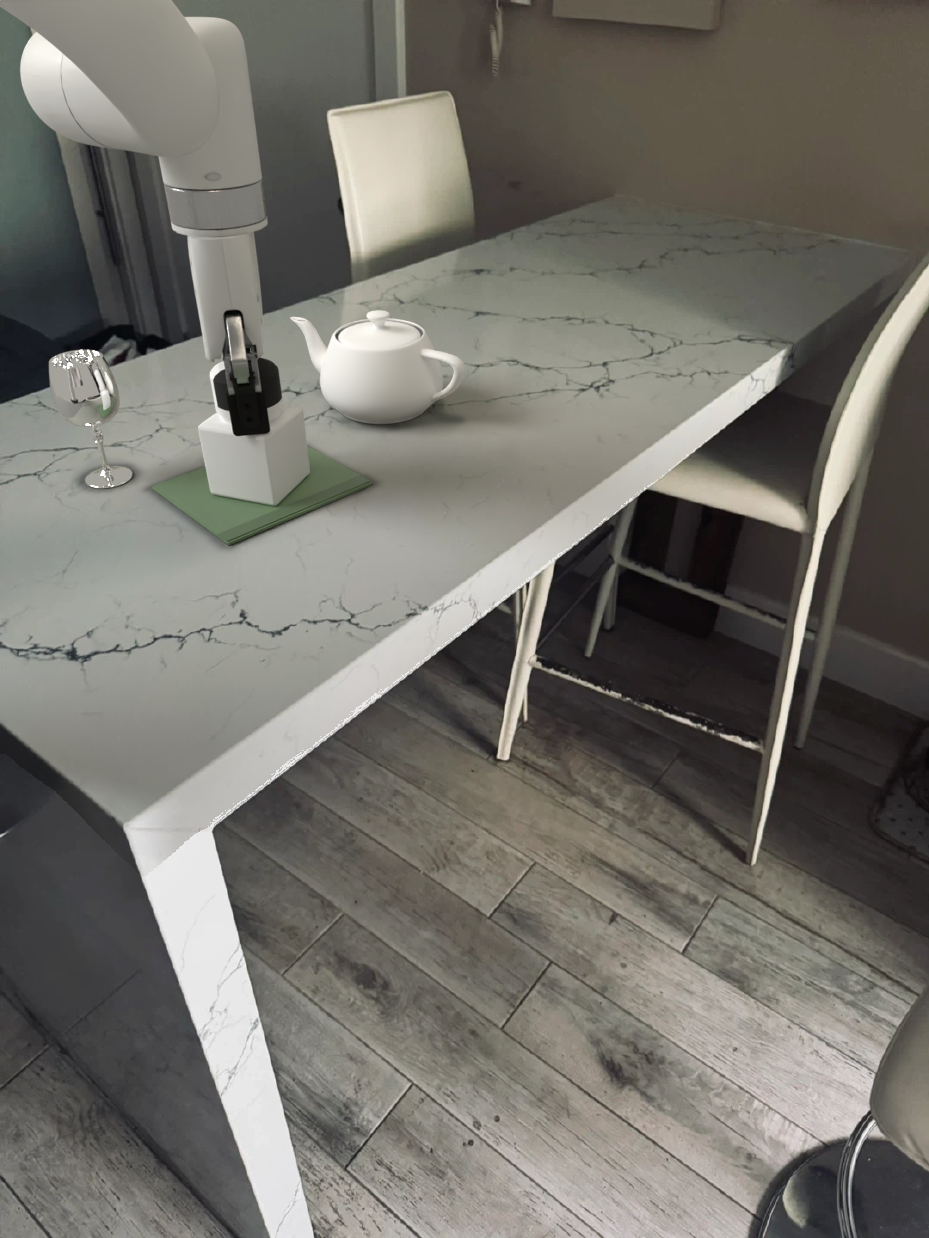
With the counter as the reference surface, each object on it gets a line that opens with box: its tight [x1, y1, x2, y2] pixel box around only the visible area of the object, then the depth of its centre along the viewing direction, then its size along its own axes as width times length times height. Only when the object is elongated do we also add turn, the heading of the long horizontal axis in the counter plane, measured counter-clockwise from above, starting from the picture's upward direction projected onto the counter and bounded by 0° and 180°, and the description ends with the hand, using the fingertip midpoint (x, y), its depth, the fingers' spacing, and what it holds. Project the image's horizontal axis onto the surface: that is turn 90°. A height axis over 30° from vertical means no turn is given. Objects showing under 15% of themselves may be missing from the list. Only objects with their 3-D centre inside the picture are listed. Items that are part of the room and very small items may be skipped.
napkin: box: [151, 445, 373, 546], centre depth 84 cm, size 16×14×1 cm
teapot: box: [289, 309, 466, 425], centre depth 96 cm, size 22×14×11 cm, turn 63°
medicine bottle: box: [197, 357, 310, 506], centre depth 81 cm, size 7×7×12 cm
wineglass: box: [48, 349, 134, 489], centre depth 82 cm, size 6×6×12 cm
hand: (250, 413), depth 80 cm, fingers closed on medicine bottle, 7 cm apart
